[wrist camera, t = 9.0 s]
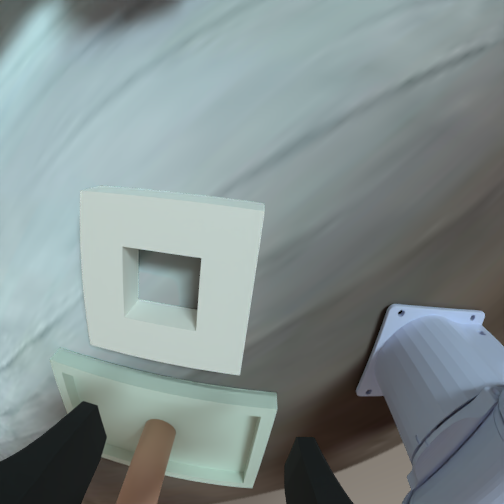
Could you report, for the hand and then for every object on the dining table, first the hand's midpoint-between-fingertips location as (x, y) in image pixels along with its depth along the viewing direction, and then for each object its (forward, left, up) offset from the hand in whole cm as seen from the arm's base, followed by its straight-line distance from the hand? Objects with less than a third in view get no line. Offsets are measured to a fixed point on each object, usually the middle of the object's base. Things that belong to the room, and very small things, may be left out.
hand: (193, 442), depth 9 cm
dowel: (+4, +13, -10) cm, 17 cm away
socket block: (+3, -2, -10) cm, 11 cm away
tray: (+4, +13, -10) cm, 17 cm away
